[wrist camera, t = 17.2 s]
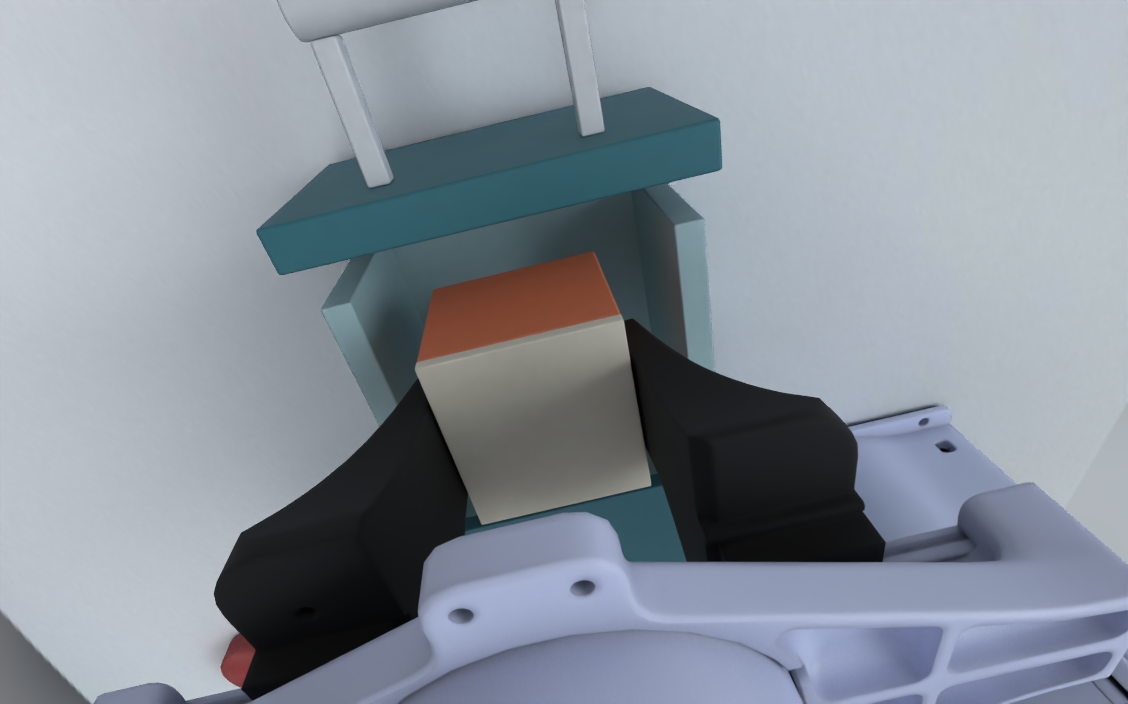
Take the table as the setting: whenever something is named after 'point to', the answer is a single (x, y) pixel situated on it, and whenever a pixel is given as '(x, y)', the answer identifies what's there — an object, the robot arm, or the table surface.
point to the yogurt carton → (534, 388)
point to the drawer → (496, 204)
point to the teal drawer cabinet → (621, 522)
